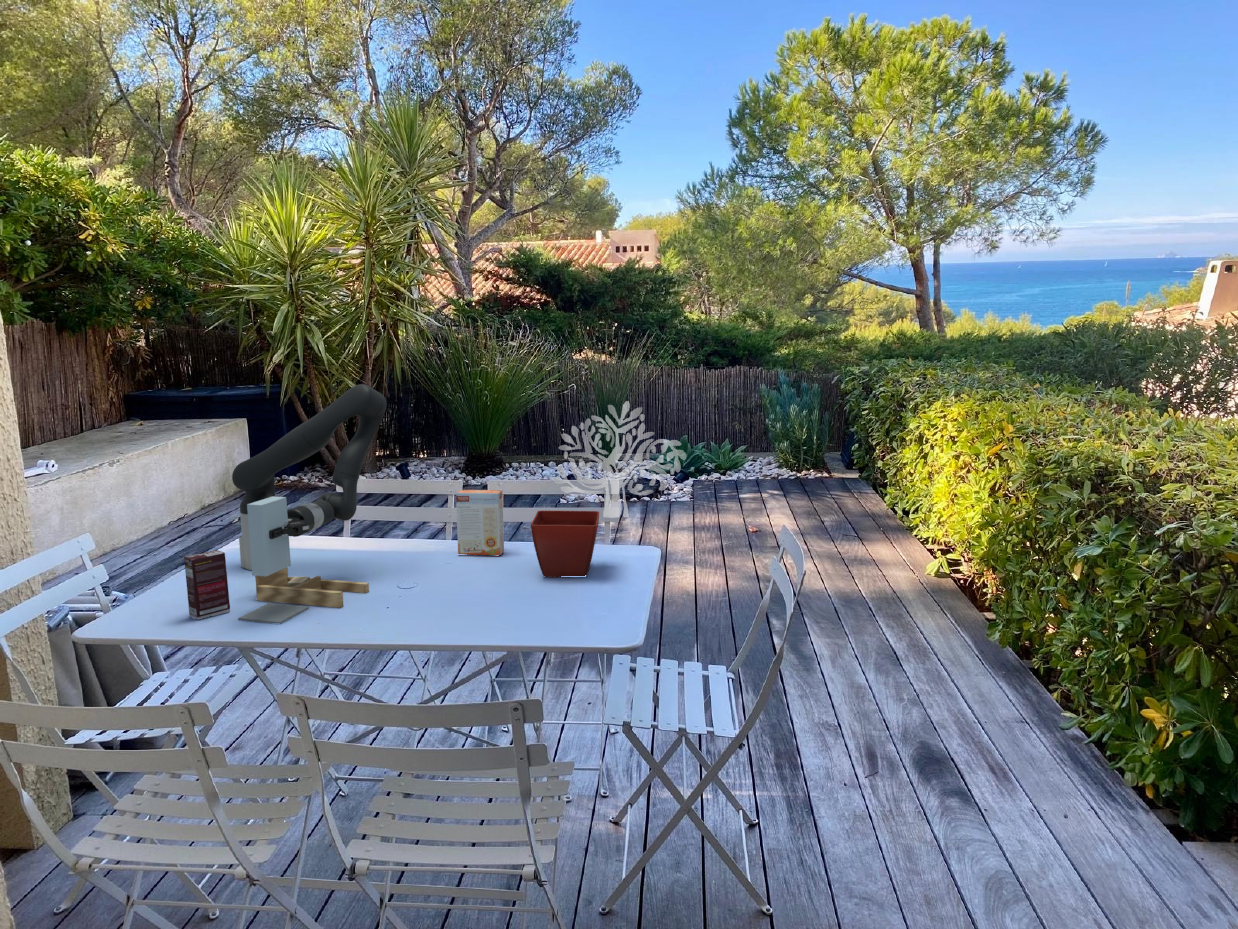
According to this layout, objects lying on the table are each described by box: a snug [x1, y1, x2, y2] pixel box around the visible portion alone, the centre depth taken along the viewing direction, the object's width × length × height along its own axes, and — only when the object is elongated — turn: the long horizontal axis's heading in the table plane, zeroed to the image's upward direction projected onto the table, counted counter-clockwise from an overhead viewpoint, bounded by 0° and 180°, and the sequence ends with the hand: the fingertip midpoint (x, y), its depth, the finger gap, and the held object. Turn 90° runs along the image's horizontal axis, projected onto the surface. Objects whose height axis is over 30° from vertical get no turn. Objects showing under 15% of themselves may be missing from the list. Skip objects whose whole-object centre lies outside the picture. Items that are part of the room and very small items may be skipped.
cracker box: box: [455, 489, 505, 556], centre depth 275 cm, size 14×6×21 cm, turn 84°
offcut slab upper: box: [287, 576, 311, 587], centre depth 235 cm, size 4×6×2 cm, turn 179°
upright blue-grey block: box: [247, 496, 292, 577], centre depth 215 cm, size 4×10×18 cm, turn 166°
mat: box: [237, 602, 310, 624], centre depth 218 cm, size 12×12×1 cm
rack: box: [254, 567, 370, 609], centre depth 232 cm, size 26×14×18 cm, turn 76°
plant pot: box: [530, 510, 600, 578], centre depth 256 cm, size 19×19×17 cm
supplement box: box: [183, 549, 231, 620], centre depth 217 cm, size 9×5×16 cm, turn 141°
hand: (262, 534), depth 213 cm, fingers closed on upright blue-grey block, 4 cm apart
